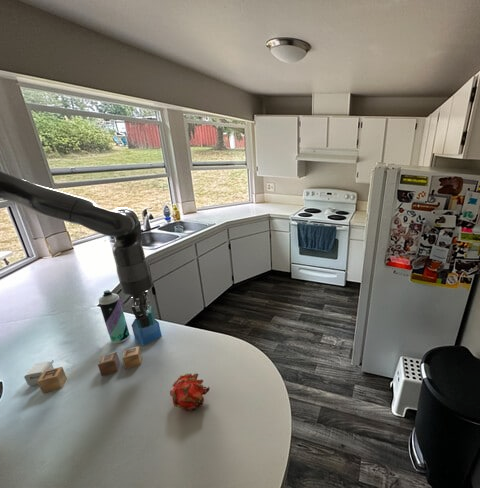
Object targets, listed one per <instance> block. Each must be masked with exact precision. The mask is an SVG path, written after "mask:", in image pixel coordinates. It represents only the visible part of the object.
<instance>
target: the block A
mask: <svg viewBox="0 0 480 488" xmlns="http://www.w3.org/2000/svg"><path fill="white" fill-rule="evenodd" d="M67 378H68V377H67V375H66V372H65V370H64V367H63V366H59V367H55V368H54V369H51V370H47V371H44V372H43V373H42V375H41V377H40V378H39V380H38V384H37V385H38V386H39V388H40V390H41V393H42V394H46V393H49V392H53V391H57V390H59V389H62V388H63V386H64V384H65V382H66V380H67Z"/></svg>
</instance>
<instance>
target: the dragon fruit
mask: <svg viewBox="0 0 480 488" xmlns="http://www.w3.org/2000/svg"><path fill="white" fill-rule="evenodd" d="M199 375H200V374H199V373H194V374H192V373H188V372H187V373H185V374H183V375H180V376H178V377H177V380H175V381H174V382H173V383H172V387H173V388H172V389H171V390H170V391H169V394H170V397H171V399H172V403H173V407H175V408H179V409H181V410H186V411H187V412H195V411H196V408H201V407H202V406H203V405H204V402H205V398H204V396H205V395H206V394H207V393H208V392H209V391H210V386H209V385H208V386H207V387H206V386H204V385H203V383H204V379H198V377H199Z"/></svg>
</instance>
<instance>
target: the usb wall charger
mask: <svg viewBox="0 0 480 488" xmlns="http://www.w3.org/2000/svg"><path fill="white" fill-rule="evenodd" d="M54 362H55V361H54V359H53V360H51V361H43V362H38V363H35V364H34V365H33V366H31V368H30V369H29V370H28V372H26V374H25V375H24V376H23V377H24V380H25V381H26V384H27V385H28V386H35V385H39V384H38V380H39V378H40V377H41V375H42V373H43V372H44V371H47V370H51V369H55V368H54V366H53V364H54Z"/></svg>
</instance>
